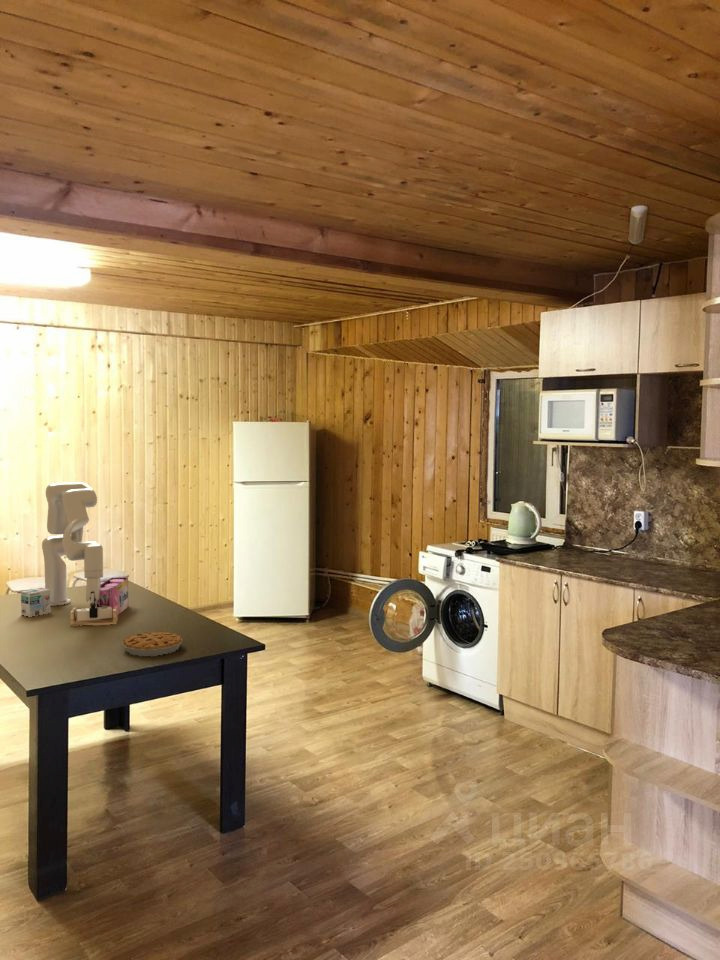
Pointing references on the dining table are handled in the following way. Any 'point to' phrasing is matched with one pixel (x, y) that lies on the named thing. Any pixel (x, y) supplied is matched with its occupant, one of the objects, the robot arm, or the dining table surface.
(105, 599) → the gum box
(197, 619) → the dining table surface
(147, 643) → the pie
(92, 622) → the cradle
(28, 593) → the light bulb box
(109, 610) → the power strip
